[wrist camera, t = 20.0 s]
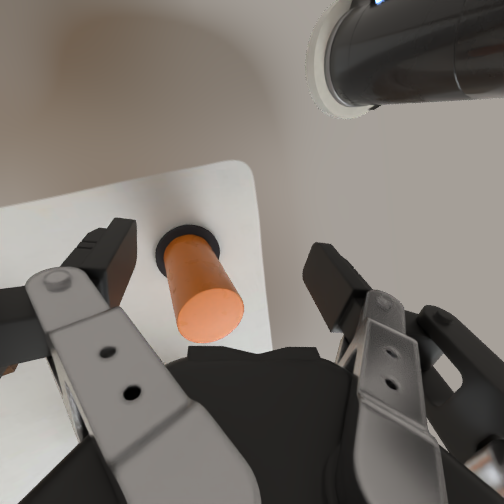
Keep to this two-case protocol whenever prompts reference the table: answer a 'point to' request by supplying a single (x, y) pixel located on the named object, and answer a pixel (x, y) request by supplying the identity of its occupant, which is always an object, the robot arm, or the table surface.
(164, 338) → the table surface
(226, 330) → the orange cylinder
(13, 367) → the tray
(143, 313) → the table surface
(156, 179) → the table surface
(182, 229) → the coaster
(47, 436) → the table surface
